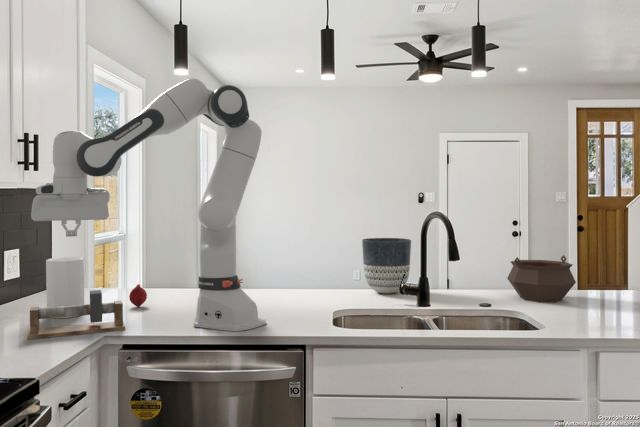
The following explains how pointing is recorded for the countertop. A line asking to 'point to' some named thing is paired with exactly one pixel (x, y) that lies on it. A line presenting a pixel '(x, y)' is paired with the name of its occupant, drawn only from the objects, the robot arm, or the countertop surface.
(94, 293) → the collar
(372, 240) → the planter
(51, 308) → the pipe rack
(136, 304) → the onion
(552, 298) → the brown cauldron
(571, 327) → the countertop surface
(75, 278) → the cup
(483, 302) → the countertop surface
